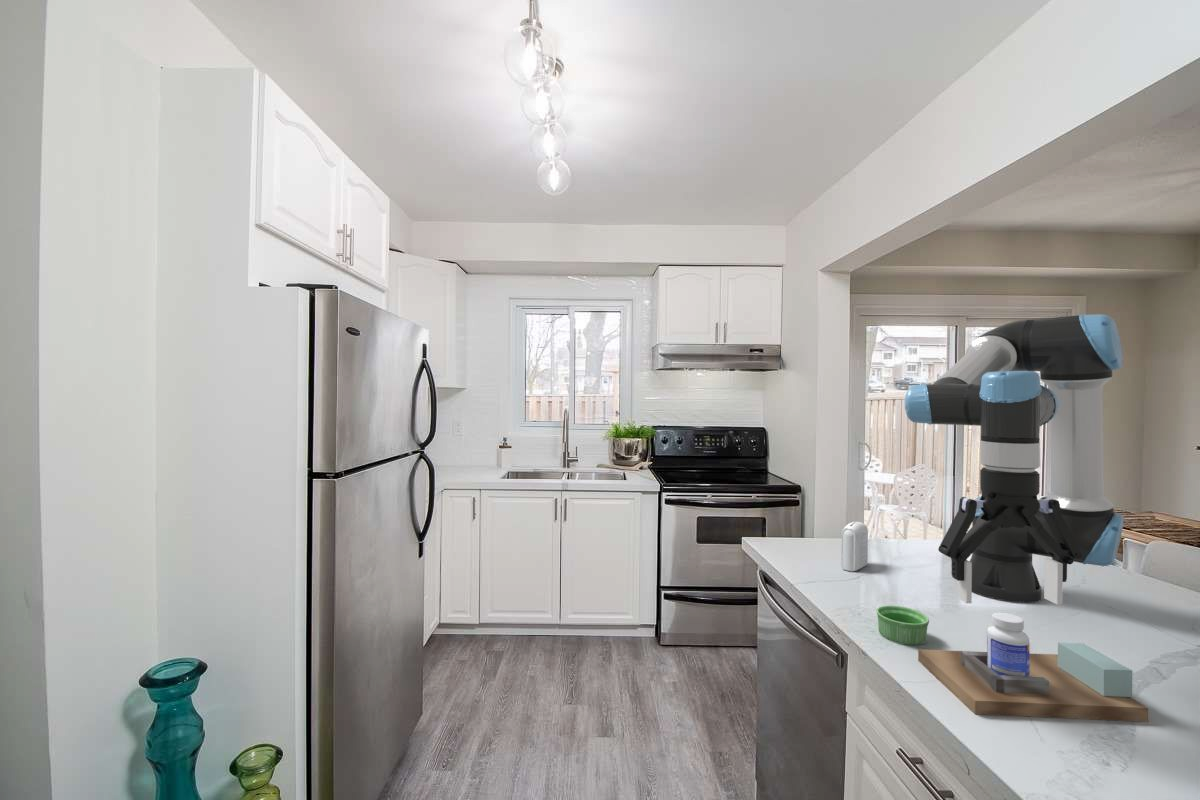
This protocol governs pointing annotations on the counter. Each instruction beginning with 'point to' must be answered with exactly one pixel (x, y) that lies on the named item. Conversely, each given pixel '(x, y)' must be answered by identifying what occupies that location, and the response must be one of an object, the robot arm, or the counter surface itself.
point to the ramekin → (902, 625)
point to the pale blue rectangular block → (1095, 669)
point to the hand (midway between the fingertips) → (1008, 601)
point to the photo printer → (854, 546)
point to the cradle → (1025, 689)
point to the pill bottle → (1008, 646)
